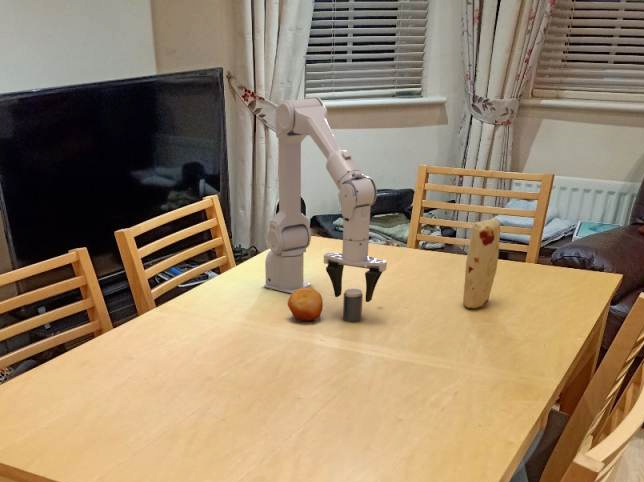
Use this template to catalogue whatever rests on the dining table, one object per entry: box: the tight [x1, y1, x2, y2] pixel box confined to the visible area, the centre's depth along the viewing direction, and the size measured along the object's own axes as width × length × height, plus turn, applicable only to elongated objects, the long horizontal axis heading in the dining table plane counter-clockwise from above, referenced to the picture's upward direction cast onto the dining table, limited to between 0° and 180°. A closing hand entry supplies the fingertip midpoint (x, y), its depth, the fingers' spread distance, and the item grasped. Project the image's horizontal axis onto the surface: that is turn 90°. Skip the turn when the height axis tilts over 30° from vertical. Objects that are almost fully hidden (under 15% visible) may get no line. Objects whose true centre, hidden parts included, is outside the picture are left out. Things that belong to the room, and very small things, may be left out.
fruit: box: [287, 286, 324, 322], centre depth 176 cm, size 8×8×8 cm
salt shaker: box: [342, 288, 364, 323], centre depth 175 cm, size 4×4×6 cm
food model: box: [462, 218, 501, 309], centre depth 178 cm, size 10×7×20 cm
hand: (353, 298), depth 174 cm, fingers open, 7 cm apart
